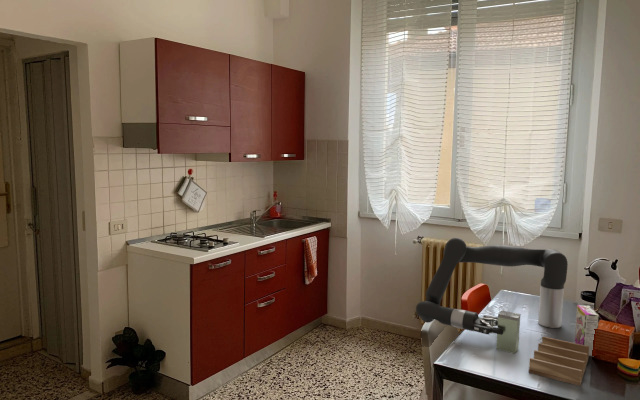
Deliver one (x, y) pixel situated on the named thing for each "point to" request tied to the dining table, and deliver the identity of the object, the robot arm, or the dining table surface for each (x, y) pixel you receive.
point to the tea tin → (508, 331)
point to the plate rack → (560, 360)
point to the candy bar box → (586, 326)
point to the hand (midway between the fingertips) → (505, 328)
